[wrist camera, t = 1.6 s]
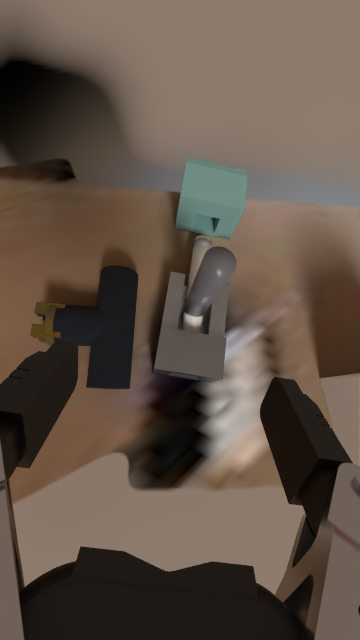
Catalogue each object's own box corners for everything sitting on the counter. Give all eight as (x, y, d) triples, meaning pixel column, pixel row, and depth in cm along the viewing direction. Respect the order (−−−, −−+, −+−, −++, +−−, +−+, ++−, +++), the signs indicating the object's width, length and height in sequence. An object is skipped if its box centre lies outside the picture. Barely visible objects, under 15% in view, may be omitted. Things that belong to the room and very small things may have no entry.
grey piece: (174, 359, 33) (193, 334, 20) (191, 244, 39) (215, 164, 26) (196, 363, 34) (230, 340, 20) (210, 247, 39) (244, 170, 26)
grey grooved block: (152, 372, 34) (154, 368, 29) (168, 284, 38) (171, 267, 33) (211, 382, 34) (222, 379, 29) (220, 294, 38) (231, 279, 33)
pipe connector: (17, 384, 27) (43, 258, 31) (36, 386, 32) (56, 277, 36) (128, 387, 28) (138, 267, 33) (130, 389, 33) (138, 284, 38)
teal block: (174, 228, 41) (180, 195, 34) (180, 194, 43) (187, 157, 36) (229, 239, 41) (244, 209, 35) (232, 205, 44) (247, 171, 37)
